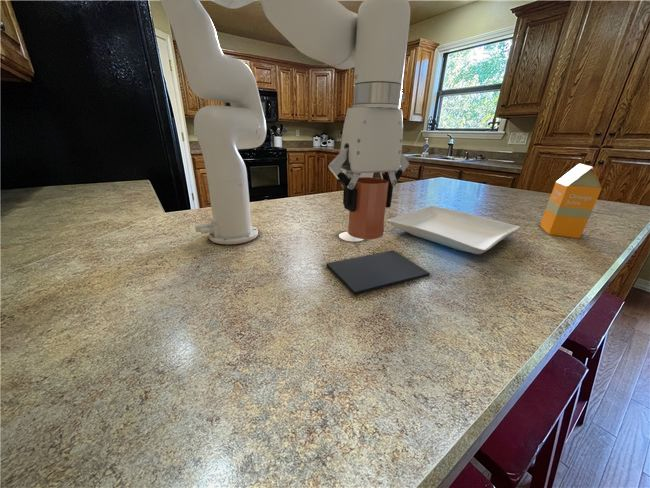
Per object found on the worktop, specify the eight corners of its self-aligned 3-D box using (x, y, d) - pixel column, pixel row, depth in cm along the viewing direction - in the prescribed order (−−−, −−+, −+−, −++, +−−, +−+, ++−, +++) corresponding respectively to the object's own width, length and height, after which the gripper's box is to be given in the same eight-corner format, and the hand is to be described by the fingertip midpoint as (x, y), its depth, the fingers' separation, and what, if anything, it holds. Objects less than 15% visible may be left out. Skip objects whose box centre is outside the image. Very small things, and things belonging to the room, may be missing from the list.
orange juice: (548, 234, 80) (574, 165, 72) (539, 225, 88) (562, 162, 80) (580, 238, 77) (612, 167, 69) (568, 229, 85) (595, 163, 77)
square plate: (481, 264, 61) (486, 249, 59) (384, 230, 79) (385, 218, 78) (518, 237, 77) (522, 224, 76) (430, 214, 96) (432, 204, 94)
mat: (354, 294, 48) (355, 291, 48) (326, 265, 58) (326, 263, 58) (429, 275, 56) (430, 273, 55) (393, 252, 65) (393, 250, 65)
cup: (359, 241, 47) (363, 185, 44) (341, 229, 53) (343, 178, 49) (390, 236, 50) (397, 182, 46) (370, 225, 56) (374, 176, 52)
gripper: (403, 103, 49) (392, 199, 56) (317, 97, 42) (316, 207, 49) (434, 100, 43) (417, 208, 50) (339, 92, 36) (334, 218, 43)
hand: (367, 207), depth 50 cm, fingers closed on cup, 6 cm apart
